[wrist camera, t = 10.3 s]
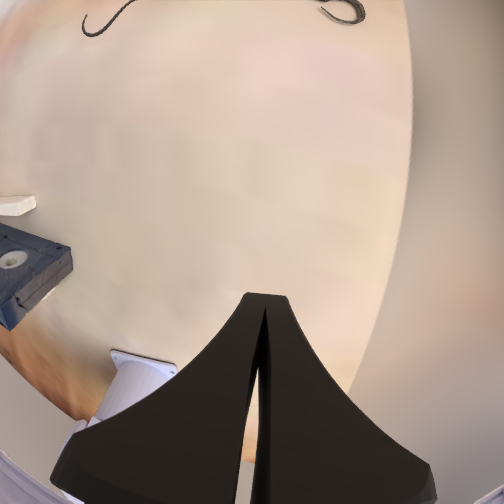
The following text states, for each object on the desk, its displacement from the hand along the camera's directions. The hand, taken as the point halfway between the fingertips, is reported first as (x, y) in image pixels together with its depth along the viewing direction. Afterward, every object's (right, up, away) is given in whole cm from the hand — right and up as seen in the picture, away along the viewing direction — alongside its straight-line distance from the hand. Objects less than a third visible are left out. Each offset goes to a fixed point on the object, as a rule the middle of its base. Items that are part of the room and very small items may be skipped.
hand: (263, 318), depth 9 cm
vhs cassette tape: (-26, +4, +13) cm, 29 cm away
